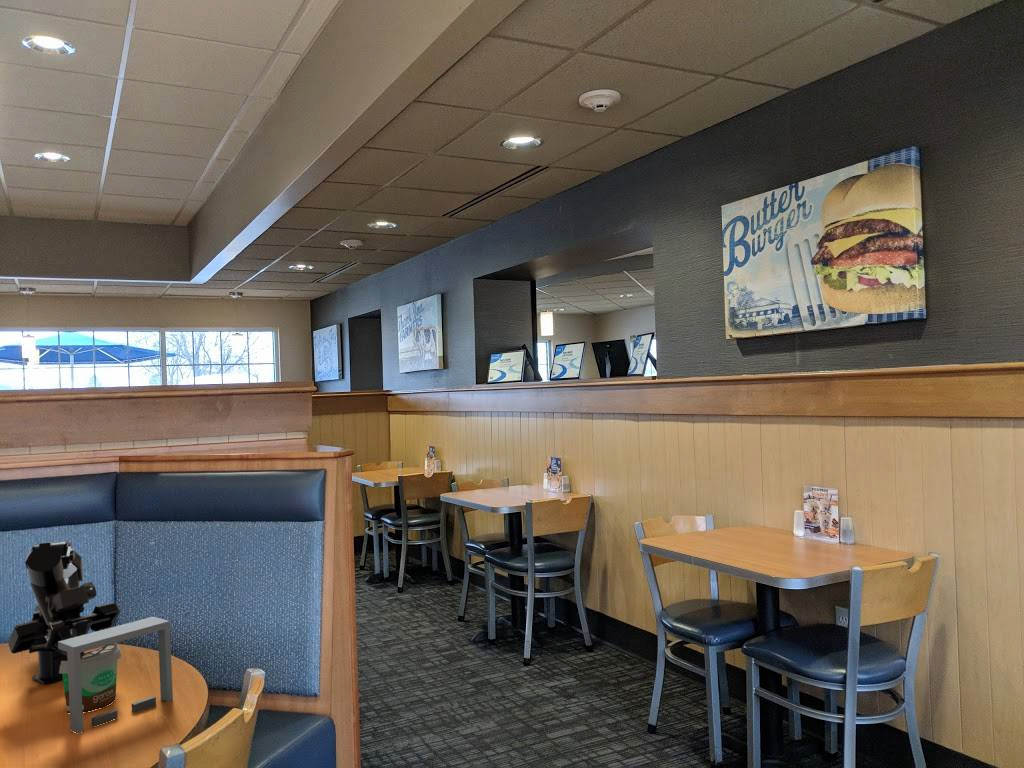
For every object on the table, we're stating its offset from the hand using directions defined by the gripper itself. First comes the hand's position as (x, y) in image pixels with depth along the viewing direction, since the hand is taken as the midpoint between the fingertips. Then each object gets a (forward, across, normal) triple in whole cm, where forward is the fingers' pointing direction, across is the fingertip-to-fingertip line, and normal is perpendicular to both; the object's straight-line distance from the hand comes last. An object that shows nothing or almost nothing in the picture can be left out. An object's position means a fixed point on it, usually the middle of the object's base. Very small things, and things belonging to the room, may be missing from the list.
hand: (81, 662), depth 149 cm
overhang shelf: (+14, 0, -5) cm, 15 cm away
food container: (+10, 0, 0) cm, 10 cm away
